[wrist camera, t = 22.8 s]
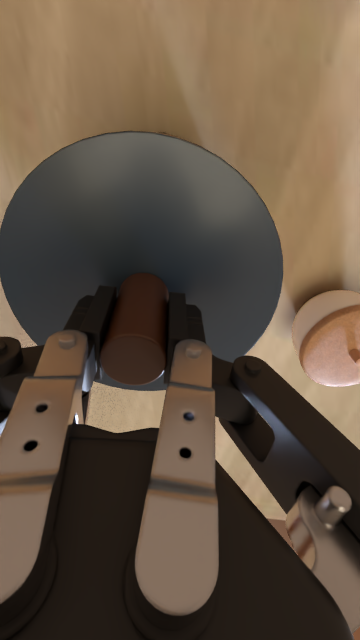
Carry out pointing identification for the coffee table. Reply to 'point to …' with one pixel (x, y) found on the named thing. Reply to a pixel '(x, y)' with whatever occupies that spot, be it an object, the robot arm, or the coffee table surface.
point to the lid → (141, 249)
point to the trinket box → (329, 338)
